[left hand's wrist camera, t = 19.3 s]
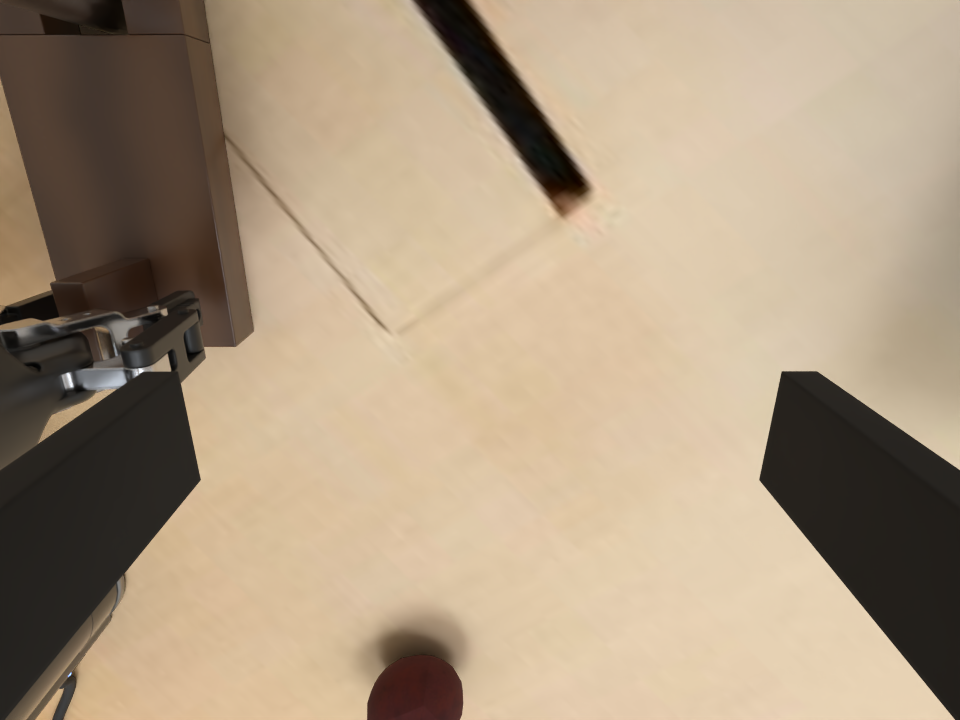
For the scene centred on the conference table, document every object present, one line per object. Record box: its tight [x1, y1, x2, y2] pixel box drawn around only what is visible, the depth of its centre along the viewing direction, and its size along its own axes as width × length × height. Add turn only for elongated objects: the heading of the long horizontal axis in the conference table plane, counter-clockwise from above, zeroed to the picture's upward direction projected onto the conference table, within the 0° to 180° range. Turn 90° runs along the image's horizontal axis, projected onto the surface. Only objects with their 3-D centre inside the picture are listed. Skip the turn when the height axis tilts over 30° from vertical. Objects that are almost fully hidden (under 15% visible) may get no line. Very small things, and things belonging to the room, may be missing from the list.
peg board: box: [0, 0, 254, 361], centre depth 29 cm, size 10×24×9 cm, turn 0°
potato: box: [367, 655, 463, 720], centre depth 45 cm, size 7×8×7 cm
